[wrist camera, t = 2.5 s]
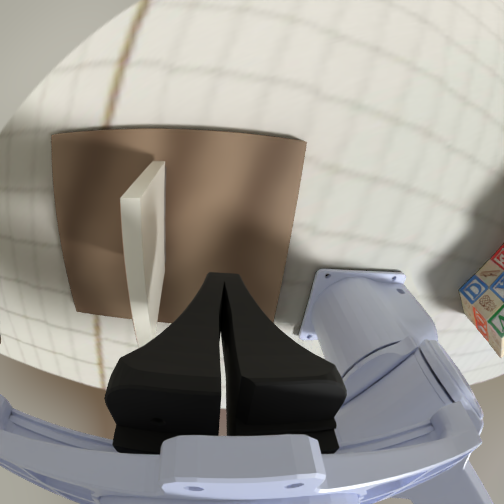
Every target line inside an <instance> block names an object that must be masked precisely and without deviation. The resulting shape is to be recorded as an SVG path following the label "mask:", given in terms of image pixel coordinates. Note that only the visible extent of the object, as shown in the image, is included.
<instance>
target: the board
mask: <svg viewBox="0 0 504 504" xmlns="http://www.w3.org/2000/svg"><path fill="white" fill-rule="evenodd" d="M306 144H307V142H305V141H302V140H296V139H289V138H282V137H275V136H267V135H258V134H249V133H239V132H228V131H214V130H197V129H167V128H137V129H107V130H91V131H78V132H68V133H58V134H54V135H51V145H52V173H53V187H54V198H55V207H56V215H57V222H58V229H59V235H60V241H61V247H62V252H63V258H64V262H65V267H66V272H67V276H68V280H69V285H70V289H71V293H72V296H73V300H74V304H75V307H76V311H77V312H82V313H89V314H96V315H103V316H111V317H118V318H127V319H133V318H132V313H131V306H130V300H129V293H128V286H127V279H126V271H125V262H124V252H123V241H122V228H121V212H120V198H121V197H122V195H123V194H124V193H125V192H126V191H127V190H128V188H129V187H130V186H131V185H132V184H133V183H134V181H135V180H136V179H137V178H138V177H139V176H140V175H141V174H142V172H143V171H144V170H145V169H146V168H147V167H148V166H149V165H150V164H151V163H152V162H153V161H165V179H164V256H165V274H164V280H163V286H162V293H161V299H160V306H159V313H158V321H157V322H165V323H173V322H174V321H175V320H176V319H177V318H178V317H179V316H180V315H181V314H182V312H183V311H184V310H185V309H186V308H187V306H188V305H189V304H190V302H191V301H192V300H193V298H194V297H195V296H196V294H197V292H198V291H199V289H200V288H201V286H202V284H203V282H204V280H205V278H206V275H207V274H208V273H209V272H218V273H234V274H239V275H240V276H241V278H242V280H243V282H244V284H245V286H246V288H247V289H248V291H249V293H250V294H251V296H252V297H253V299H254V300H255V301H256V303H257V304H258V306H259V307H260V308H261V309H262V311H263V312H264V313H265V314H266V316H267V317H268V318H269V319H270V320H271V321H272V322H274V317H275V312H276V308H277V303H278V298H279V293H280V288H281V284H282V279H283V274H284V269H285V263H286V258H287V253H288V248H289V243H290V237H291V232H292V227H293V221H294V216H295V210H296V205H297V199H298V193H299V187H300V181H301V175H302V169H303V163H304V157H305V151H306Z"/></svg>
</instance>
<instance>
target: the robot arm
mask: <svg viewBox="0 0 504 504" xmlns="http://www.w3.org/2000/svg"><path fill="white" fill-rule="evenodd" d="M326 274H329V275H328V276H325V275H326ZM392 277H394V278H392ZM405 279H406V275H405V274H404V273H402V272H380V271H358V270H338V269H319V270H318V271H317V272H316V275H315V278H314V282H313V286H312V290H311V293H310V297H309V301H308V304H307V308H306V311H305V315H304V318H303V322H302V325H301V329H300V332H299V338H300V339H301V340H319V343H320V346H321V349H322V352H323V354H324V357H325V359H323V358H321V357H319V356H317V355H315V354H313V353H311V352H310V351H308V350H307V349H305V348H304V347H302V346H300V345H299V344H298V343H296V342H295V341H293V340H292V339H291V338H290V337H288V336H287V335H286V334H285V333H283V332H282V331H281V330H280V329H279V328H278V327H277V326H276V325H275V324H274V323H273V322H272V321H271V320H270V319H269V318H268V317H267V316H266V314H265V313H264V312H263V311H262V309H261V308H260V307H259V306H258V304H257V303H256V301H255V300H254V299H253V297H252V296H251V294H250V293H249V291H248V289H247V288H246V286H245V284H244V282H243V280H242V278H241V276H240V275H239V274H234V273H218V272H209V273H208V274H207V275H206V278H205V280H204V282H203V284H202V286H201V288H200V289H199V291H198V292H197V294H196V296H195V297H194V298H193V300H192V301H191V302H190V304H189V305H188V306H187V308H186V309H185V310H184V311H183V312H182V314H181V315H180V316H179V317H178V318H177V319H176V320H175V321H174V322H173V323H172V324H171V325H170V326H169V327H167V328H166V329H165V330H164V331H163V332H162V333H160V334H159V335H158V336H157V337H155V338H154V339H152V340H151V341H149V342H148V343H147V344H145V345H144V346H142V347H140V348H138V349H137V350H135V351H133V352H131V353H129V354H127V355H125V356H123V357H121V358H120V359H119V361H118V363H117V364H116V366H115V368H114V370H113V372H112V374H111V377H110V379H109V383H108V387H107V390H106V394H105V403H106V405H107V407H108V409H109V411H110V413H111V415H112V417H113V419H114V421H115V423H116V429H115V433H114V439H113V440H111V439H106V438H102V437H98V436H94V435H90V434H86V433H82V432H79V431H75V430H72V429H68V428H65V427H62V426H59V425H56V424H53V423H50V422H47V421H44V420H41V419H39V418H36V417H33V416H31V415H28V414H26V413H23V412H21V411H19V410H16V409H14V408H12V406H11V404H10V403H9V401H8V400H7V399H6V398H5V397H4V396H2V395H1V394H0V466H2V467H3V468H5V469H7V470H9V471H10V472H12V473H14V474H16V475H18V476H20V477H22V478H23V479H25V480H27V481H29V482H32V483H33V484H35V485H37V486H39V487H42V488H44V489H46V490H48V491H50V492H52V493H55V494H57V495H59V496H62V497H64V498H67V499H69V500H72V501H75V502H77V503H80V504H373V503H375V502H378V501H381V500H384V499H386V498H389V497H390V498H406V499H410V500H411V501H412V503H413V504H494V503H493V501H492V500H491V498H490V496H489V494H488V492H487V491H486V489H485V487H484V485H483V484H482V482H481V480H480V478H479V477H478V475H477V473H476V472H475V470H474V468H473V467H472V465H471V463H470V462H469V460H468V459H469V456H470V454H471V453H472V452H473V451H474V450H475V449H476V448H477V447H478V446H480V445H481V444H482V440H481V438H480V433H481V431H482V428H483V425H484V422H483V419H482V418H483V411H482V409H481V407H480V405H479V403H478V401H477V400H476V398H475V395H474V393H473V391H472V389H471V388H470V386H469V384H468V383H467V381H466V379H465V378H464V376H463V375H462V373H461V372H460V370H459V369H458V367H457V366H456V365H455V363H454V362H453V360H452V359H451V358H450V356H449V355H448V354H447V352H446V351H445V350H444V349H443V347H442V346H441V345H440V344H439V343H438V335H437V330H436V327H435V324H434V322H433V320H432V319H431V317H430V316H429V315H428V313H427V312H426V311H425V310H424V308H423V307H422V306H421V305H420V303H419V302H418V301H417V300H416V298H415V297H414V296H413V295H412V294H411V292H410V291H409V290H408V289H407V288H406V286H405V285H404V281H405ZM220 333H221V337H222V347H223V355H224V364H225V373H226V411H227V436H218V433H219V419H220V405H221V371H220V350H219V341H220ZM308 335H309V336H308Z"/></svg>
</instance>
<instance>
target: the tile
mask: <svg viewBox="0 0 504 504" xmlns="http://www.w3.org/2000/svg"><path fill="white" fill-rule="evenodd" d="M164 179H165V161H153V162H152V163H151V164H150V165H149V166H148V167H147V168H146V169H145V170H144V171H143V172H142V174H141V175H140V176H139V177H138V178H137V179H136V180H135V181H134V183H133V184H132V185H131V186H130V187H129V188H128V190H127V191H126V192H125V193H124V194H123V195H122V197H121V198H120V212H121V228H122V241H123V252H124V262H125V271H126V279H127V286H128V293H129V300H130V306H131V313H132V318H133V324H134V329H135V335H136V340H137V343H138V348H140V347H142V346H144V345H145V344H147V343H148V342H149V341H151V340H152V339H154V338H155V337H156V329H157V321H158V313H159V306H160V299H161V293H162V286H163V280H164V274H165V256H164Z"/></svg>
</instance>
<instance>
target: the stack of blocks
mask: <svg viewBox="0 0 504 504" xmlns="http://www.w3.org/2000/svg"><path fill="white" fill-rule="evenodd" d="M459 293H460V297H461V301H462V306H463V310H464V313H465V315H466V316H467V318H468V319H469V320H470V321H471V322H472V323H473V324H474V325H475V326H476V328H477V330H478V331H479V332H480V333H481V334H482V335H483V336H484V338H485V339H486V340H487V341H488V342H489V344H490V345H491V347H492V348H493V349H494V351H495V352H496V353H497V354H498V356H499V357H500V358H502V357H503V356H504V244H503V245H502V246H501V247H500V248H499V250H498V251H497V252H496V253H495V254H494V255H493V256H492V257H491V259H490V260H488V261H487V262H486V263H485V265H484V266H483V267H482V268H481V269H480V270H479V271H478V272H477V273H476V274H475V275H474V276H472V278H471V279H469V280H468V281H467V282H466V283H465V284H464V285H463V286H462V287H461V288H460V289H459Z"/></svg>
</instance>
